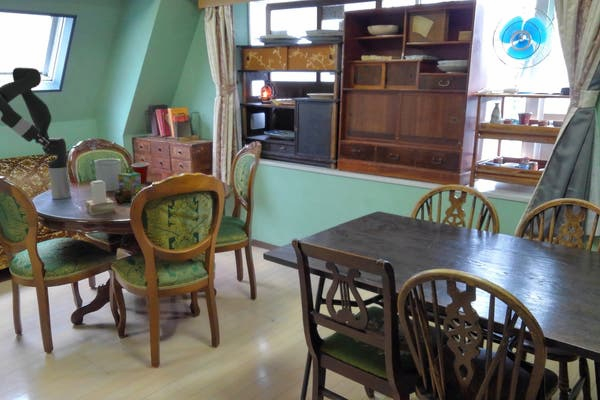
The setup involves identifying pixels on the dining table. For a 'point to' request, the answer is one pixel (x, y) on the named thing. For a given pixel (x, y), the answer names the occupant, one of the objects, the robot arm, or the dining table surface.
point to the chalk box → (130, 181)
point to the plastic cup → (141, 170)
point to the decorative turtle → (123, 195)
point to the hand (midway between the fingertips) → (55, 152)
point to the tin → (98, 191)
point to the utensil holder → (108, 172)
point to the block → (100, 207)
